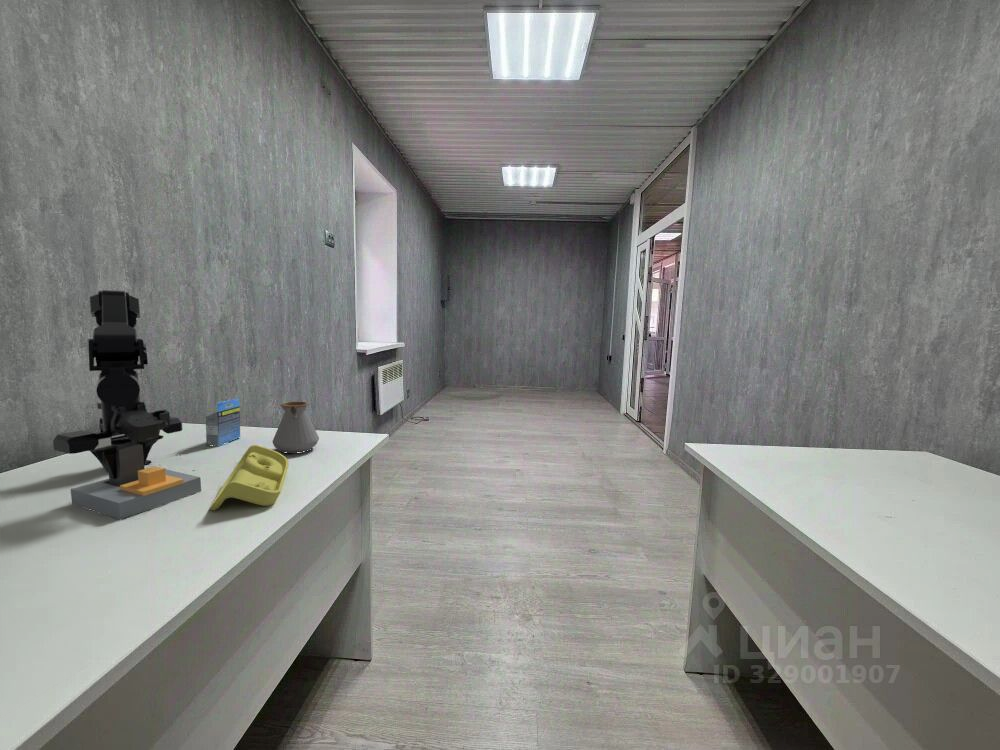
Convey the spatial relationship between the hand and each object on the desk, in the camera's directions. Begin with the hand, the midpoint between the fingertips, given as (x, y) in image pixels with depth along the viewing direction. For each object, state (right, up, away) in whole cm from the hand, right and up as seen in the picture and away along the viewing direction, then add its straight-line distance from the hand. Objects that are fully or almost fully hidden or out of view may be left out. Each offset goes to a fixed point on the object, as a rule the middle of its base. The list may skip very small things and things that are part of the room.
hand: (127, 475), depth 85 cm
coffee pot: (+20, -1, +28) cm, 34 cm away
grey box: (0, -3, 0) cm, 3 cm away
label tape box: (-5, 0, +37) cm, 38 cm away
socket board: (+3, -4, -1) cm, 5 cm away
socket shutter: (+7, -1, -3) cm, 8 cm away
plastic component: (+24, -5, +4) cm, 24 cm away
